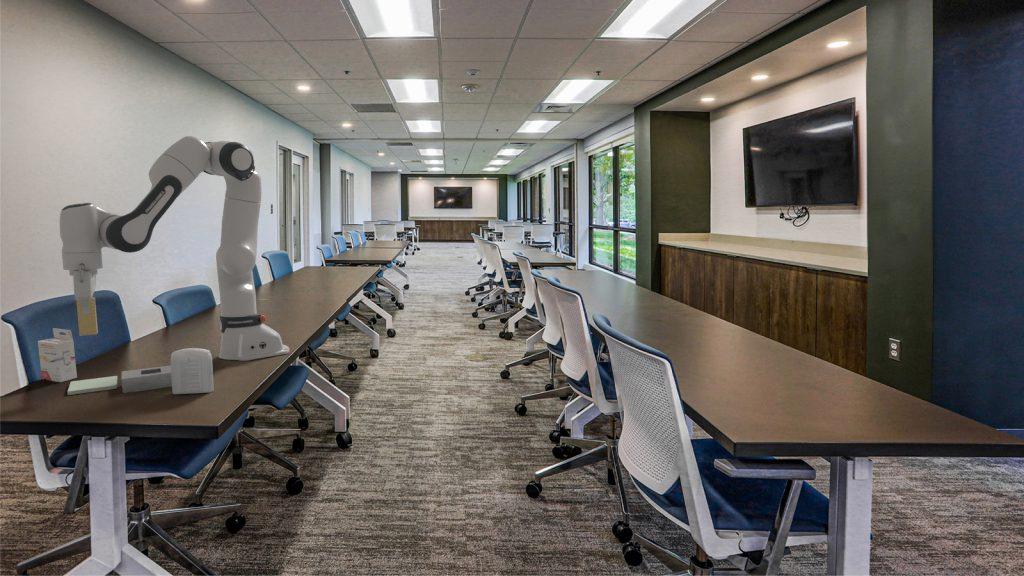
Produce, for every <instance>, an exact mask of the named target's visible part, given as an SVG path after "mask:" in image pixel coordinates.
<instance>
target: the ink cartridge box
mask: <svg viewBox="0 0 1024 576" xmlns="http://www.w3.org/2000/svg"><path fill="white" fill-rule="evenodd" d="M52 333H53V338H46V339H42V340H37V346H38V356H39V363H40V365H39V366H40V374H41V380H44V379H46V381H51V382H56V383H57V382H58V383H64V382H66V381H70V380H74V379H77V378H78V375H77V366H76V356H75V355H76V354H75V346H74V338H73V334H72V331H71V329H63V328H54V327H53V328H52ZM60 333H63V334H60Z"/></svg>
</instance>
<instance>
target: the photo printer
mask: <svg viewBox="0 0 1024 576" xmlns="http://www.w3.org/2000/svg"><path fill="white" fill-rule="evenodd" d="M170 355H171V356H170V365H171V377H172V386H171V389H172V391H171V392H172V395H186V394H205V393H212V392H214V390H215V389H214V373H213V371H214V370H213V356H212V352H211V350H209V349H205V348H198V347H188V348H182V349H178V350H175V351H172V353H171V354H170Z"/></svg>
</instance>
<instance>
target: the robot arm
mask: <svg viewBox="0 0 1024 576" xmlns="http://www.w3.org/2000/svg"><path fill="white" fill-rule="evenodd" d="M254 158H255V157H254V155H253V152H252V151H251V149H250V147H248V146H246V145H245V144H244V143H240V142H237V141H229V140H228V141H226V140H220V141H208V142H204V141H203V140H201V138H198V137H195V136H192V135H186V136H184V137H181V139H179V140H177V141H176V142H175V143H173V144H172V145H170V146H169V147H168V148H167V149H166V150H165V151H164V152H163V153H162V154H160V156H159V157H158V158H157V159H156V160H155V162H153V164H152V165H151V166H150V169H149V170H148V177H149V182H150V183H151V188H150V190H149V192H148V193H147V194H146V195H145V196H144V197H143V199H142V200H141V201H140V202H139V203H138V204H137V206H135V208H134V209H132V211H130V212H129V213H126V214H124V215H118V214H115V213H112V212H110V211H107V210H104V209H102V208H100V207H98V206H96V205H95V204H94V203H91V202H83V203H75V204H69V205H66V206H64V207H63V208H62V209H61V211H60V213H59V235H60V238H61V243H62V249H61V256H62V257H61V259H62V269H63V270H65V271H68V273H69V276H71V277H73V278H72V279H73V291H74V292H73V294H74V299H75V301H76V300H80V303H81V307H82V313H83V314H89V313H90V299H91V298H92V297H94V293H95V291H96V283H97V275H98V270H100V269H103V268H104V267H103V256H102V255H103V254H102V249H103V248H108V249H113V250H116V251H117V250H118V251H120V252H123V253H127V254H128V253H130V254H131V253H136V252H139V251H141V250H143V249H145V248H146V247H147V246H148V244H149V243H150V241H151V238H152V235H153V231H154V229H155V227H156V225H157V224H158V222H159V220H160V219H161V218H162V217H163V216H164V215H165V213H166V212H167V211H168V209H169V208H171V206H172V204H173V203H174V202H175V201H176V200H177V198H179V196H181V194H182V193H183V192H184V191H185V190H186V189H188V187H190V185H191V184H192V183H193V182H194V181H195V180H196V179H197V178H198V176H200V175H201V173H202V172H203V173H205V174H207V175H212V176H218V177H223V178H224V181H225V185H226V189H225V193H224V201H223V208H222V209H223V211H222V216H221V217H222V218H221V233H220V246H219V247H218V248H217V251H216V254H215V258H216V259H215V261H216V271H217V280H218V289H219V302H220V316H219V330H220V332H221V340H220V348H219V349H220V350H219V352H218V353H219V354H218V358H219V359H222V360H231V361H232V360H234V361H236V360H237V361H242V362H243V361H244V362H245V361H251V360H257V359H263V358H270V357H275V356H276V357H277V356H280V355H287V354H289V353H290V347H289V346H288V345H286V344H283V340H282V337H281V335H280V334H279V332H278V331H276V330H274V329H273V328H271V327H270V326H268V325H266V324H265V323H264V322H266V321H267V319H268V318H267V316H265V315H264V314H260V313H258V312H257V298H256V297H257V296H256V295H257V294H256V293H257V292H256V287H255V281H254V272H253V270H254V267H255V266H256V263H257V252H258V228H259V227H258V226H259V219H260V211H261V210H260V209H261V203H262V178H261V175H260V174H259V173H258V172H257V171H256V167H255V159H254Z"/></svg>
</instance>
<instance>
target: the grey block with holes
mask: <svg viewBox="0 0 1024 576" xmlns="http://www.w3.org/2000/svg"><path fill="white" fill-rule="evenodd" d="M120 380H121V387H122V390H121V391H122V394H127V393H134V392H135V393H136V392H141V391H148V390H155V389H162V388H163V389H164V388H170V387H171V388H172V377H171V364H170V365H165V366H164V365H163V366H156V367H148V368H147V367H146V368H138V369H130V370H123V371H121V379H120Z"/></svg>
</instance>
